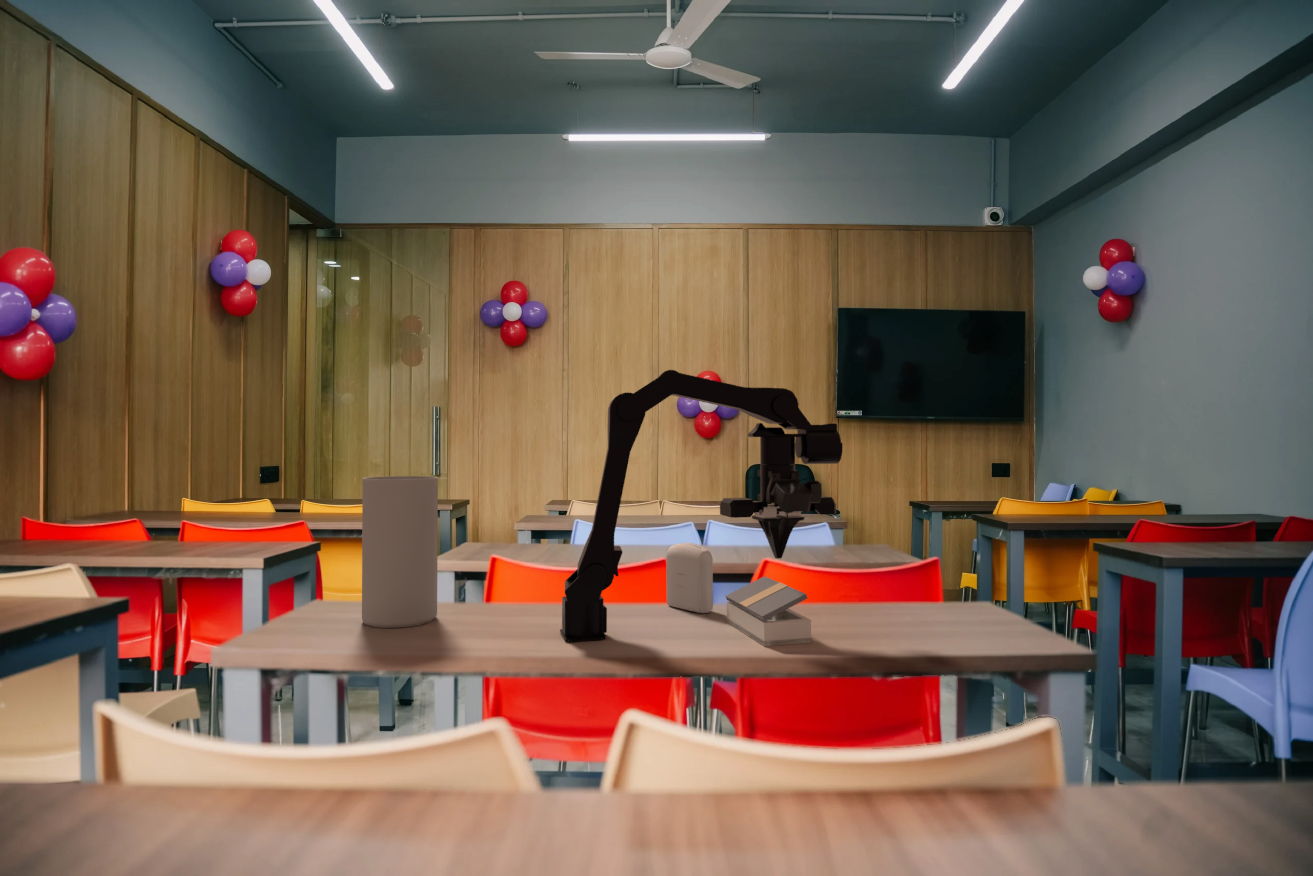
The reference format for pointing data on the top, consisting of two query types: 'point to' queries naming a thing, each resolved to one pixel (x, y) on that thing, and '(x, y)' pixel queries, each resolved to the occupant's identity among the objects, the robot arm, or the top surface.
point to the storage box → (771, 626)
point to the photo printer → (689, 577)
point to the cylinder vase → (399, 550)
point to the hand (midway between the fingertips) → (778, 558)
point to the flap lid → (766, 598)
